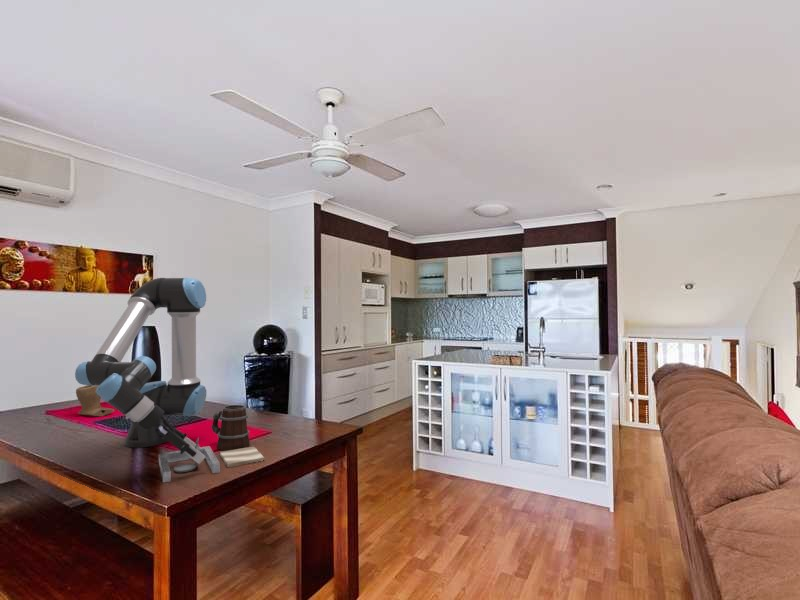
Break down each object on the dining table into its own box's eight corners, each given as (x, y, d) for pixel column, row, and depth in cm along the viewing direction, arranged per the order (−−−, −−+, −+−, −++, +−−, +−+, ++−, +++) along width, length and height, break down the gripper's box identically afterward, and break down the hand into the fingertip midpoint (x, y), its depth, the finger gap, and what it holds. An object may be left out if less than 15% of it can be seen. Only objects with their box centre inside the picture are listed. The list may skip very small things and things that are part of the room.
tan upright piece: (69, 416, 206) (70, 385, 206) (95, 411, 217) (96, 381, 217) (89, 419, 200) (90, 387, 200) (114, 414, 210) (115, 383, 211)
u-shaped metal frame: (157, 457, 150) (157, 448, 150) (206, 449, 159) (206, 441, 159) (163, 482, 128) (163, 472, 128) (219, 472, 137) (219, 462, 137)
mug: (255, 442, 168) (256, 404, 168) (236, 452, 156) (236, 411, 156) (222, 439, 172) (222, 402, 172) (200, 448, 160) (201, 408, 161)
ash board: (219, 455, 153) (219, 451, 153) (253, 449, 159) (254, 446, 159) (227, 467, 141) (227, 463, 141) (264, 460, 148) (264, 457, 148)
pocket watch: (168, 471, 138) (169, 440, 138) (192, 463, 145) (193, 433, 145) (185, 476, 134) (186, 444, 134) (208, 467, 141) (209, 437, 141)
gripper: (134, 415, 141) (186, 455, 149) (136, 431, 122) (195, 476, 131) (153, 398, 144) (203, 438, 152) (157, 411, 125) (214, 455, 134)
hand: (200, 455), depth 141 cm, fingers open, 9 cm apart
